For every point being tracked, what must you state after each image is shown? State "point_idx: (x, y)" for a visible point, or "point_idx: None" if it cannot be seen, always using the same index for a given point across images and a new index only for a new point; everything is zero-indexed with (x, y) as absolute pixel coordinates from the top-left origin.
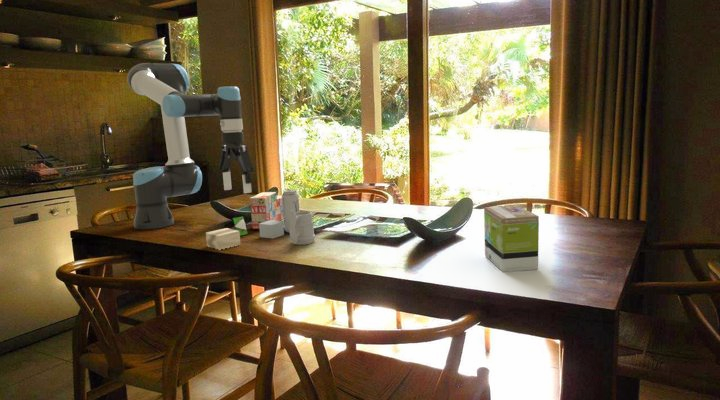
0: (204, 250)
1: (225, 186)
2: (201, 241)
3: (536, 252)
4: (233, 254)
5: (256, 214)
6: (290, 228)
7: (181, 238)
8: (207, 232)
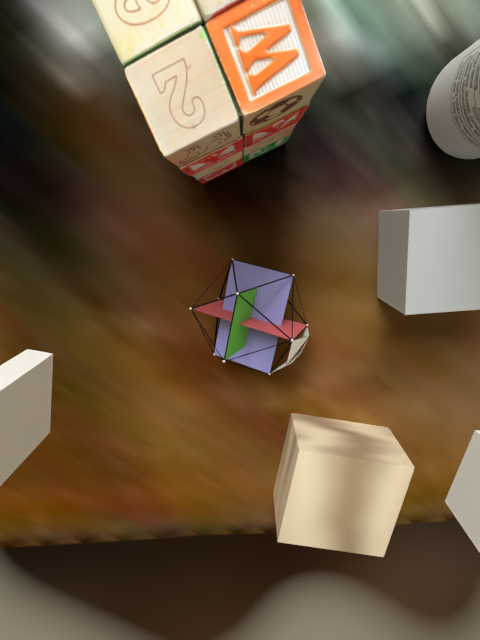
0: None
1: (24, 454)
2: (184, 458)
3: None
4: None
5: (227, 157)
6: None
7: (61, 463)
8: (282, 537)
